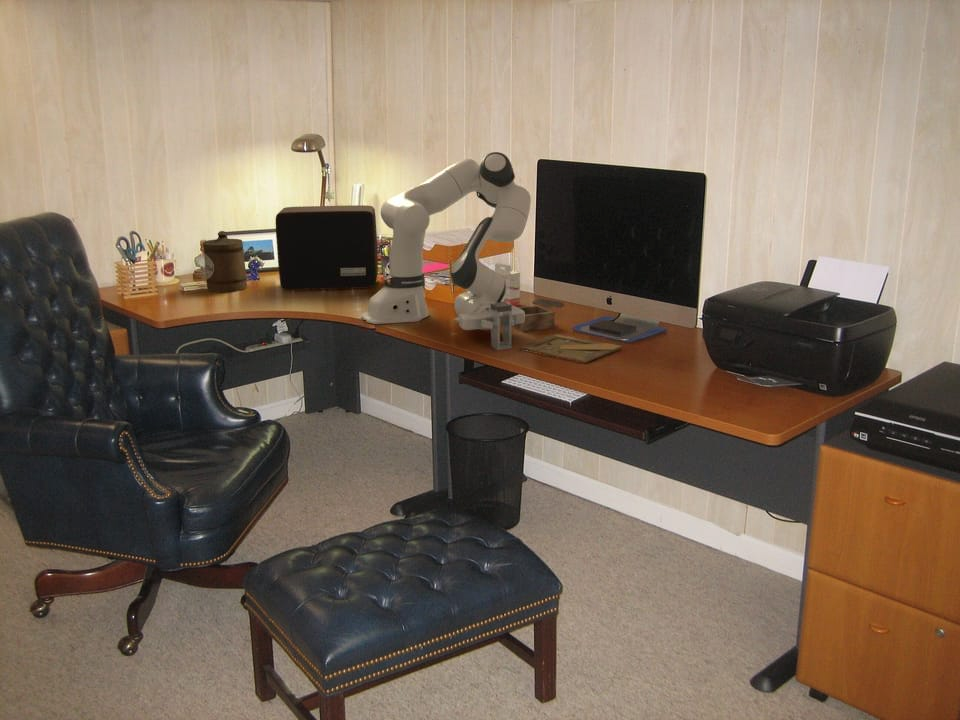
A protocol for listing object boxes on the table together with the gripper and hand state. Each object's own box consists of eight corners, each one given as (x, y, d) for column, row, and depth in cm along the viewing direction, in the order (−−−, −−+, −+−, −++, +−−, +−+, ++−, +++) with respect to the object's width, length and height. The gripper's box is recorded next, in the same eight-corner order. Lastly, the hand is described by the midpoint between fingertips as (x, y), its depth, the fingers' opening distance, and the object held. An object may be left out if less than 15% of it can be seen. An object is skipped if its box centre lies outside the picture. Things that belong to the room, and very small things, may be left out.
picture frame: (621, 351, 276) (555, 338, 291) (621, 345, 275) (555, 332, 290) (585, 366, 262) (518, 351, 277) (585, 360, 262) (518, 345, 276)
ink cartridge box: (520, 305, 330) (520, 263, 326) (510, 307, 327) (510, 265, 323) (504, 301, 337) (504, 260, 332) (493, 303, 333) (493, 262, 329)
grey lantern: (497, 350, 276) (496, 307, 273) (490, 346, 280) (490, 303, 277) (512, 348, 278) (512, 305, 274) (505, 344, 282) (505, 302, 278)
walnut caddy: (522, 331, 296) (522, 316, 295) (506, 323, 306) (506, 308, 305) (554, 327, 300) (554, 312, 299) (538, 319, 310) (538, 304, 309)
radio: (378, 280, 374) (375, 204, 366) (376, 290, 357) (373, 210, 349) (286, 282, 372) (281, 206, 363) (280, 292, 355) (274, 212, 346)
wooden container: (209, 285, 369) (203, 229, 362) (248, 283, 371) (243, 227, 365) (205, 293, 355) (199, 235, 348) (246, 291, 357) (241, 233, 351)
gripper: (451, 308, 284) (469, 318, 272) (513, 301, 292) (533, 310, 279) (452, 328, 286) (470, 339, 273) (513, 321, 293) (533, 331, 281)
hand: (502, 324), depth 276 cm, fingers closed on grey lantern, 5 cm apart
